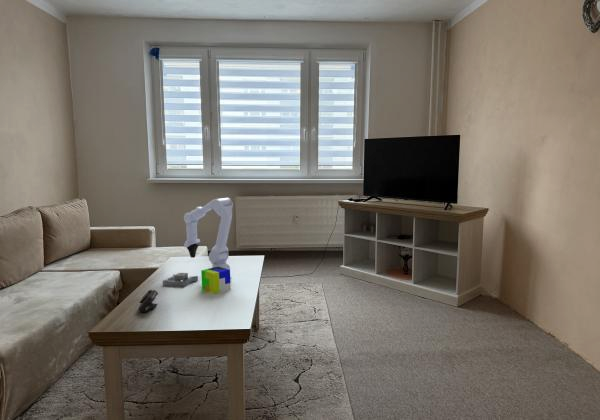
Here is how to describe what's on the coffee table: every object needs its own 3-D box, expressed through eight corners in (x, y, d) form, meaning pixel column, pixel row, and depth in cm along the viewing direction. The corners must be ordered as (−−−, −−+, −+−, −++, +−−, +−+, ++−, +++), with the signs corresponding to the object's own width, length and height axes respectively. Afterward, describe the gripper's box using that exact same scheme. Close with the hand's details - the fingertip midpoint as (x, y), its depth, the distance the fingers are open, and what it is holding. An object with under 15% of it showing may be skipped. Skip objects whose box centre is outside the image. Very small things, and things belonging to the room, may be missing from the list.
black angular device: (154, 307, 186) (140, 299, 185) (164, 293, 186) (151, 285, 184) (147, 319, 175) (133, 311, 173) (158, 304, 174) (144, 296, 172)
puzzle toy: (230, 289, 207) (230, 269, 206) (213, 294, 199) (213, 273, 198) (218, 285, 214) (218, 266, 212) (202, 289, 206) (201, 270, 205)
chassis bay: (173, 278, 226) (173, 273, 226) (198, 280, 223) (198, 274, 222) (160, 285, 214) (159, 279, 214) (186, 287, 211) (186, 281, 210)
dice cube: (188, 282, 220) (187, 273, 219) (183, 285, 215) (183, 275, 214) (179, 281, 221) (179, 272, 220) (174, 284, 216) (174, 275, 215)
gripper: (191, 231, 242) (192, 254, 244) (178, 235, 228) (179, 259, 230) (202, 231, 240) (203, 254, 242) (190, 236, 227) (191, 260, 228)
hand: (192, 257), depth 236 cm, fingers closed
